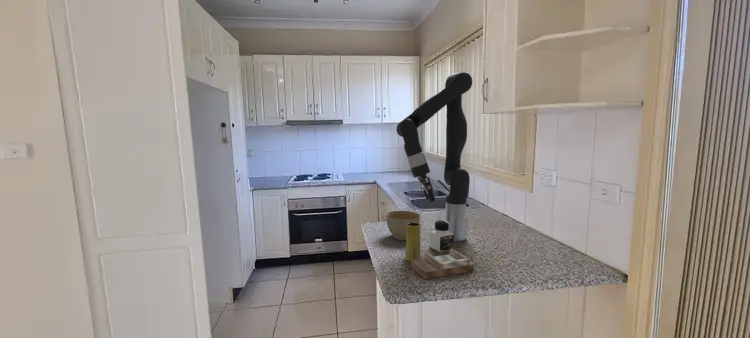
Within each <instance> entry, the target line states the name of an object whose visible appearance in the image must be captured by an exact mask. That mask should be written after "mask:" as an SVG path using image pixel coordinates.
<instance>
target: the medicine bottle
mask: <svg viewBox="0 0 750 338" xmlns="http://www.w3.org/2000/svg"><path fill="white" fill-rule="evenodd" d="M429 235H430V237H429V248H430V249H432V250H434V251H436V252H438V253H444V252H450V249H454V241H453V236H454V234H453V233H450V232H449V222H447V221H445V219H444V220H436V221H434V230H431V231H430V233H429Z"/></svg>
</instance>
